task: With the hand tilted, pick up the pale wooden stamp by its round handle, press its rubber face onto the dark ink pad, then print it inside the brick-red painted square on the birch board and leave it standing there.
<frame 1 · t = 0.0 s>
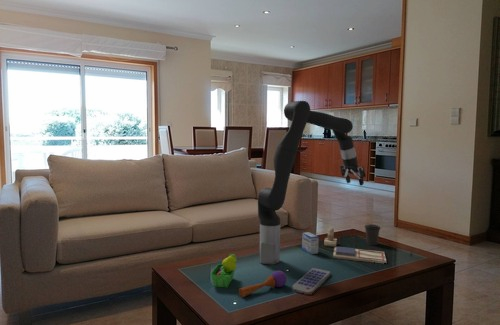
hand: (355, 183, 190), 31 cm above the table, tool tilted 20°, fingers open, 8 cm apart
coffee cup: (371, 244, 189), on the table
medicine box: (309, 251, 175), on the table
stamping board: (359, 255, 170), on the table
kendama: (263, 291, 132), on the table
fruit basket: (225, 282, 138), on the table
ink pad: (345, 254, 171), resting on stamping board
stamp: (330, 244, 186), on the table
remote control: (311, 283, 139), on the table
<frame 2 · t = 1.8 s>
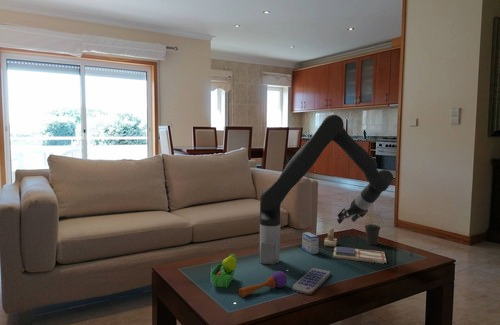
hand: (345, 221, 174), 15 cm above the table, tool tilted 45°, fingers open, 8 cm apart
nothing on the table moved.
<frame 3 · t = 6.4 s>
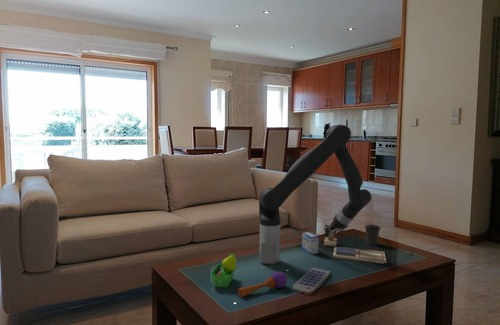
hand: (328, 235, 188), 5 cm above the table, tool tilted 45°, fingers closed on stamp, 3 cm apart
stamp: (330, 244, 186), on the table, touching gripper
everything else where it was.
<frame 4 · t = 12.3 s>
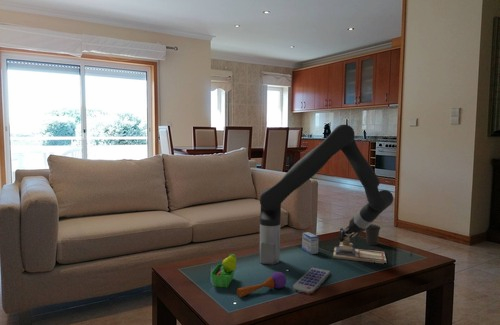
hand: (343, 239, 173), 7 cm above the table, tool tilted 45°, fingers closed on stamp, 3 cm apart
stamp: (345, 250, 171), point 2 cm above the table, touching gripper, ink pad
everything else where it was.
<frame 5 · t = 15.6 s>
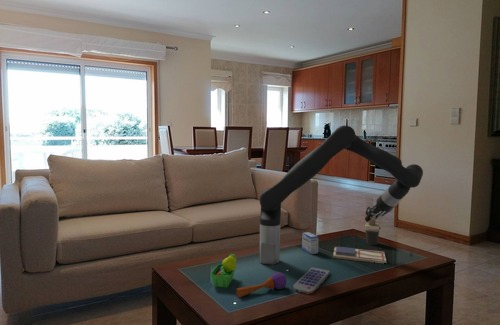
hand: (369, 219, 168), 18 cm above the table, tool tilted 45°, fingers closed on stamp, 3 cm apart
stamp: (371, 230, 167), point 13 cm above the table, touching gripper
when the fingers open (6 cm above the table, at t = 18.4 s): stamp stays where it is, resting on stamping board.
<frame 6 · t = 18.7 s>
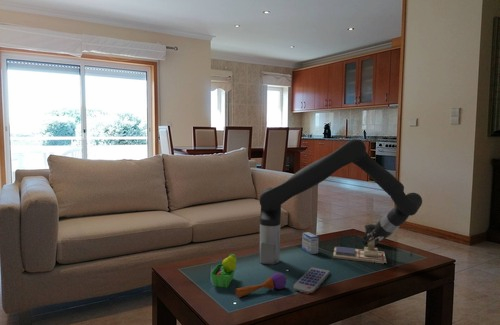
hand: (368, 243, 169), 6 cm above the table, tool tilted 45°, fingers open, 5 cm apart
stamp: (370, 255, 168), point 1 cm above the table, touching stamping board
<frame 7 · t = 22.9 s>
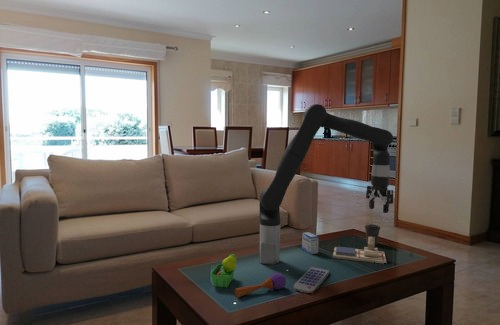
hand: (378, 210, 160), 24 cm above the table, tool pointing down, fingers open, 8 cm apart
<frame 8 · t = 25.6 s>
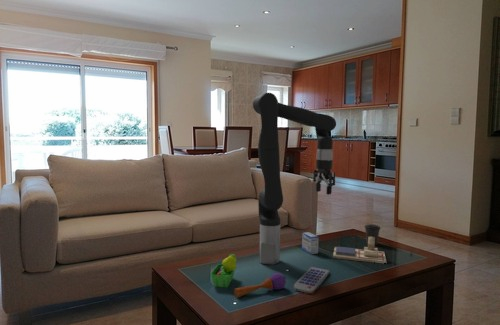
hand: (323, 192, 168), 30 cm above the table, tool pointing down, fingers open, 8 cm apart
at the end: stamp 0.1 cm from the target spot, point 1.0 cm above the table; stamp tilted 0°; the gripper is holding nothing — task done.
